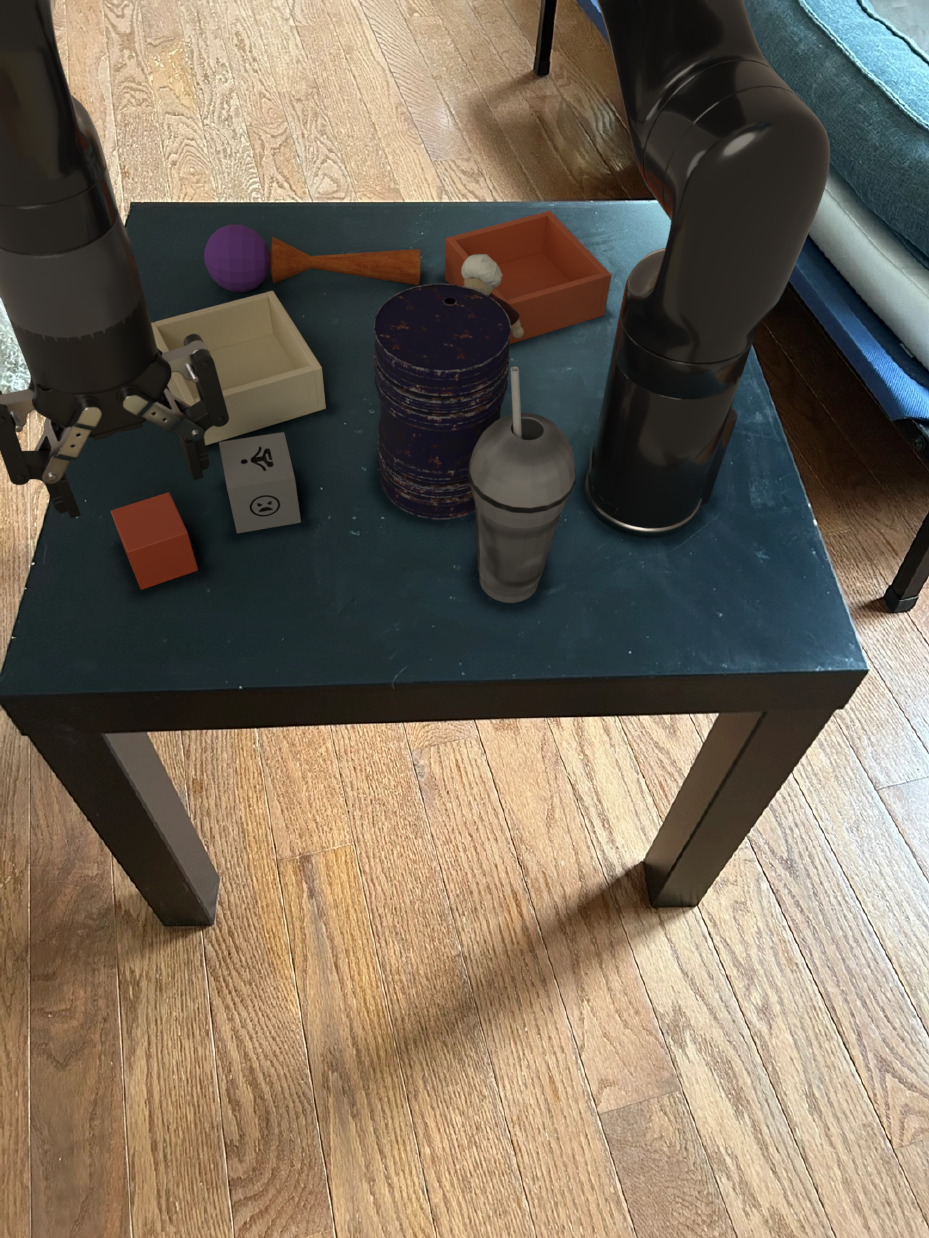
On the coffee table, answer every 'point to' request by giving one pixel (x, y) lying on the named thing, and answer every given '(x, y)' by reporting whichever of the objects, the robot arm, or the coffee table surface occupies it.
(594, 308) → the terracotta bin
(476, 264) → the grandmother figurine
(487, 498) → the beverage cup
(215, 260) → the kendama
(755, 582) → the coffee table surface
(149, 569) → the rust block
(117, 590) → the coffee table surface
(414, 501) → the navy cylindrical canister
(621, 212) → the coffee table surface
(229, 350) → the cream bin
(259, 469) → the dice cube
